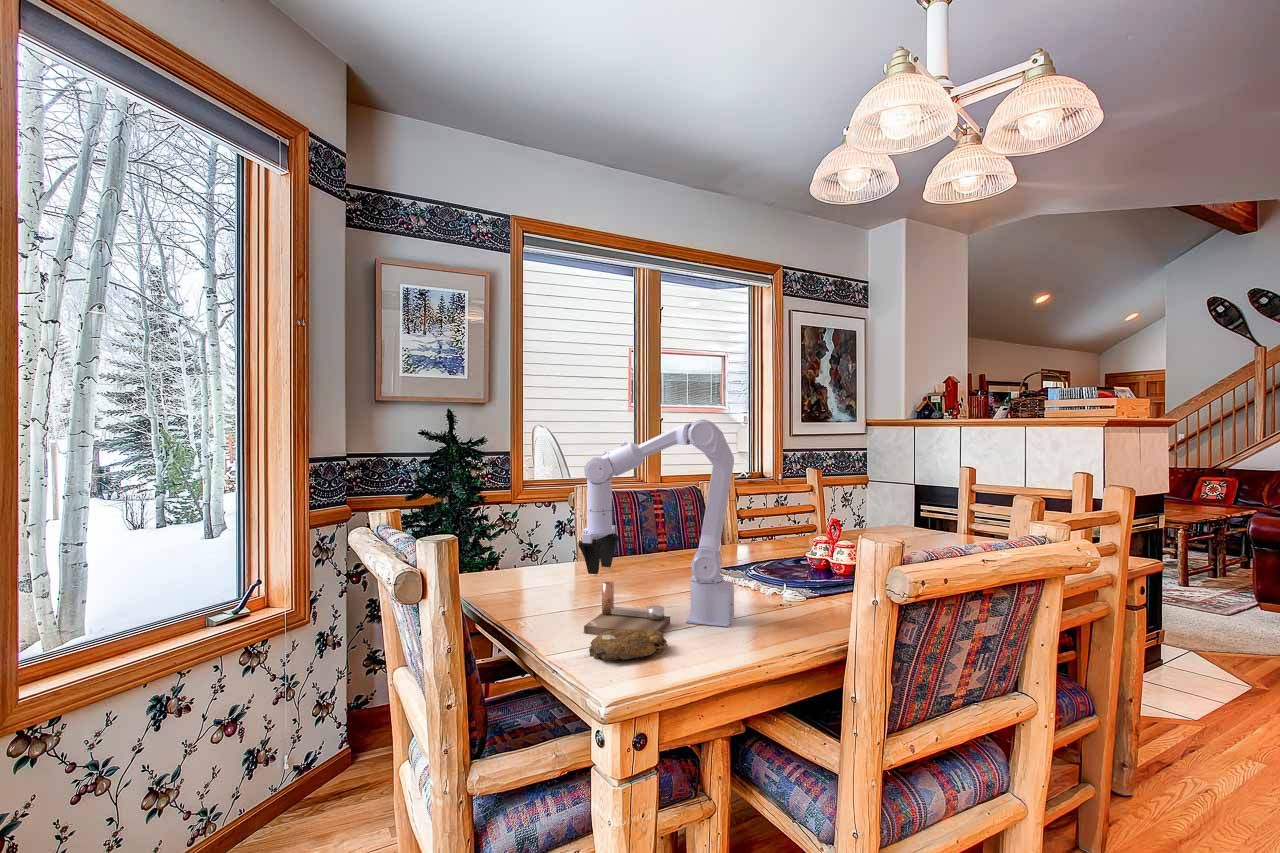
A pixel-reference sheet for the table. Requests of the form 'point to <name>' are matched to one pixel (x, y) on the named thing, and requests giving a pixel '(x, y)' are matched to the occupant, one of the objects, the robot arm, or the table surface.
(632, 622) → the board
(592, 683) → the table surface
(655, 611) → the lever
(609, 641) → the decorative rock
